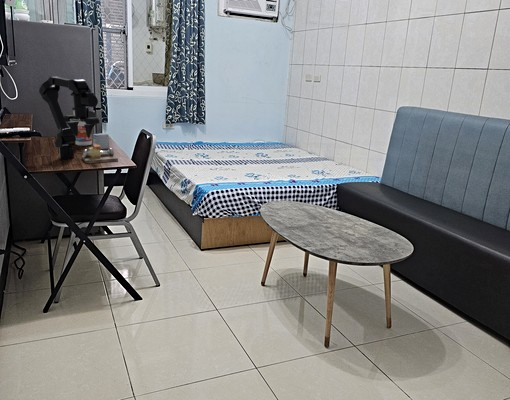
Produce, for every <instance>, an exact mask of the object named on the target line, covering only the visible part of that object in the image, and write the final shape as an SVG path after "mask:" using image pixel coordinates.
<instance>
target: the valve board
mask: <svg viewBox="0 0 510 400" xmlns="http://www.w3.org/2000/svg"><path fill="white" fill-rule="evenodd" d="M82 154H83V155H81V160H82V161H83V162H84V163H85V164H98V163H110V162H111V163H112V162H119V158H118V157H117V156H116V155H114V154H115V152H114V149H113V148H112V147H109V148H108V150H95V149H94V147H93V146H91V147H88V149H83V153H82Z"/></svg>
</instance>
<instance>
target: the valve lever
mask: <svg viewBox="0 0 510 400" xmlns="http://www.w3.org/2000/svg"><path fill="white" fill-rule="evenodd" d="M90 146H91V147H94V149H95V150H100V151H102V149H101V147H100V145H97V143H93V142H92V144H91V145H90Z"/></svg>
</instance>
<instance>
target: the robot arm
mask: <svg viewBox="0 0 510 400" xmlns="http://www.w3.org/2000/svg"><path fill="white" fill-rule="evenodd" d="M61 87H64V88H67V89H68V90H69V91H71V93H70V94H69V95H70V96H72V100H73V107H72V110H73V112H74V111H75V115H74V114H68V115H64V114H63V111H62V108H61V105H60V103H59V96H60V94H59V92H60V90H61ZM38 93H39V95H40V96H41V98H42V100H43V101H44V102H46V103H47V106H48V107H49V109H50V112H51V115H52V118H53V120H54V123H55V125H56V127H57V132H56V137H57V139H56V140H55V142H54V146H55V147H56V148H58V152H59V153H58V154H59V156H58V157H59V159H60V160H67V159H74V158H75V151H74V150H75V149H74V148H73V147H75V146H76V136H78V123H79V122H78V121H81V122H85V123H86V124H84V126H85V130H86V134H87V137H88V138H90V135H91V136H92V132H93V128H94V127H95V126H96V125H98V124H100V119H99V117H96V116H97V112H94V111H91V110H90V108H95V107H97V106H98V104H99V100H98V98H97V96H96V95H95V92H92V90H91V89H90V87H89V84H88V83H87V82H86V80H85V79H69V78H65V77H60V76H49V77H48V79H47V80H46V81H44V82H43V83H42V84H41V85H40V87H39V89H38Z"/></svg>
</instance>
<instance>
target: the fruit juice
mask: <svg viewBox="0 0 510 400" xmlns="http://www.w3.org/2000/svg"><path fill="white" fill-rule="evenodd" d="M72 112H73V114H72V115H75V111H74V110H73V111H72ZM78 122H79V123H78V136H76V142H75V146H76V145H77V146H92V145H91V144H92V143H93V135H92V134H91V135H90V138H88V137H87V134H86V130H85V126H84V124H86V123H85V122H81V121H78Z"/></svg>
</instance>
